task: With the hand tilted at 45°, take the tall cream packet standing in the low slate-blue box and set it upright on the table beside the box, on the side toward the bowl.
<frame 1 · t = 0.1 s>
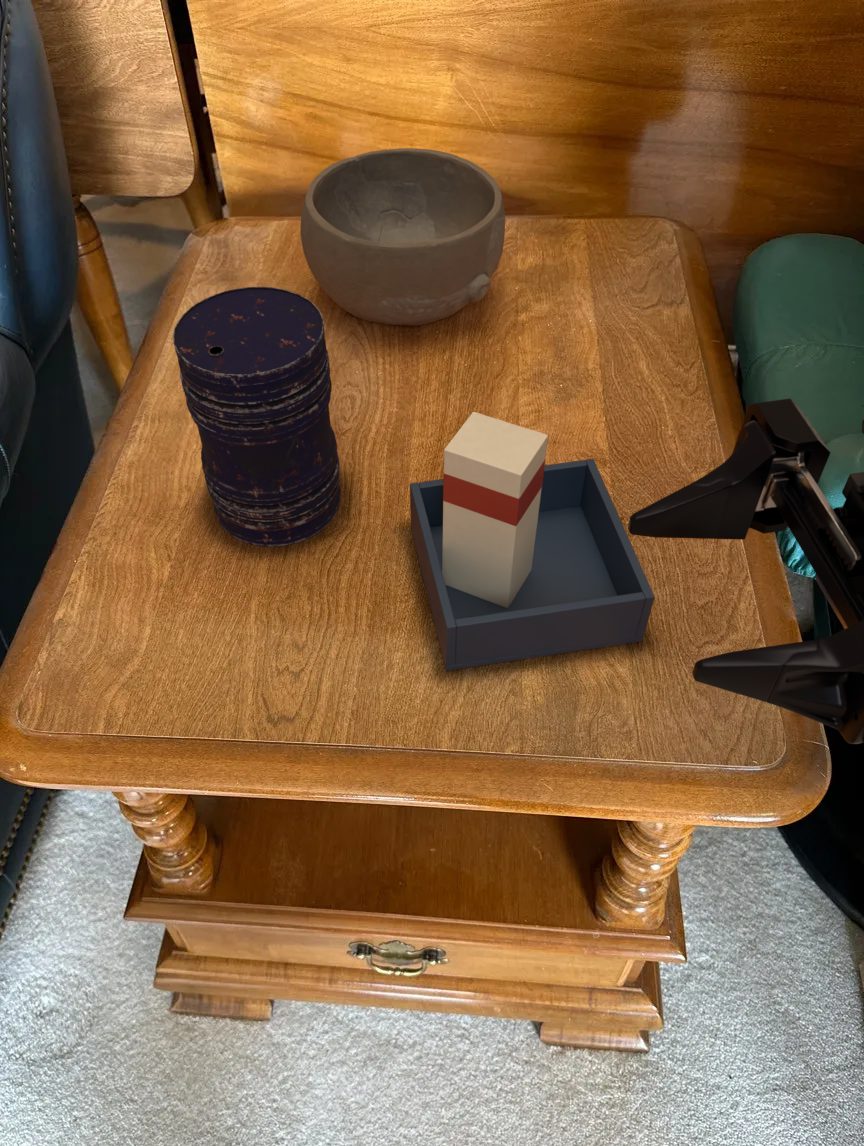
hand: (660, 593, 45), 16 cm above the table, tool horizontal, fingers open, 9 cm apart
packet: (486, 576, 66), resting on box
bowl: (403, 298, 89), on the table
dark blue cylinder: (278, 502, 73), on the table
box: (520, 582, 66), on the table
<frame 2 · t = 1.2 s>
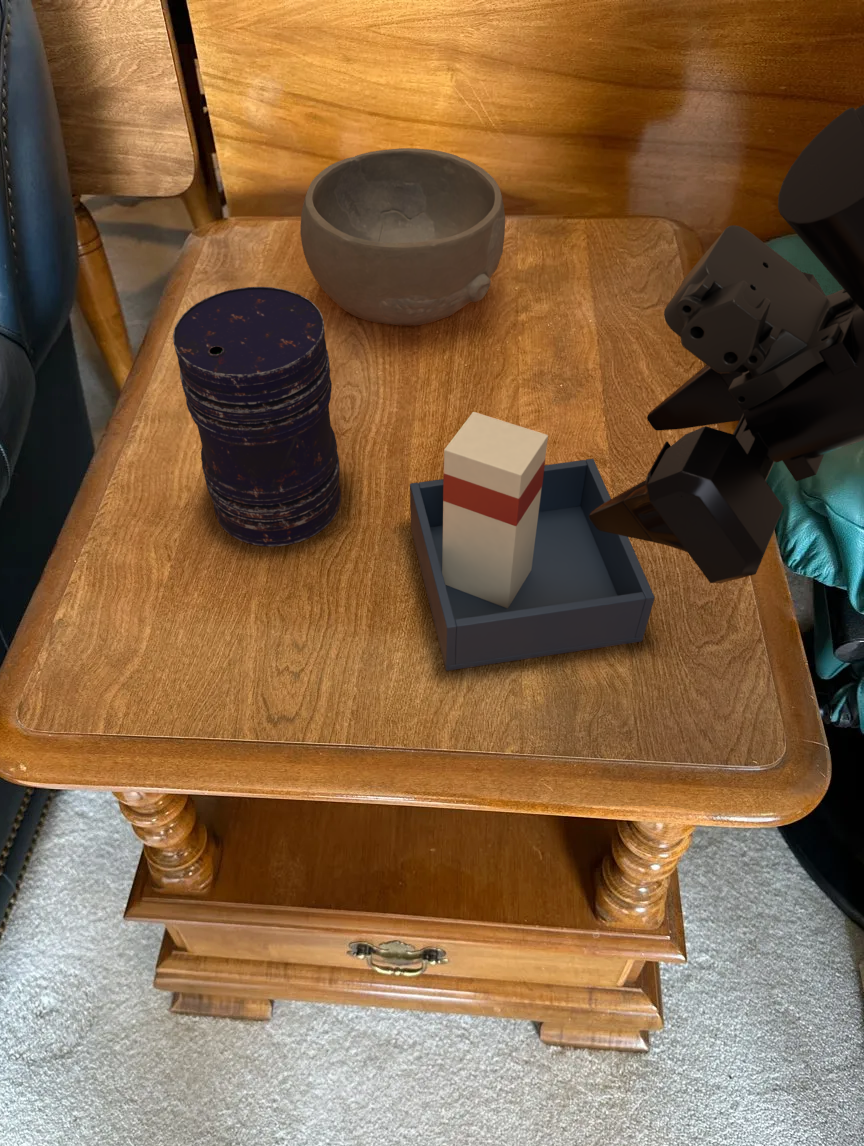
hand: (623, 469, 54), 13 cm above the table, tool tilted 45°, fingers open, 9 cm apart
nothing on the table moved.
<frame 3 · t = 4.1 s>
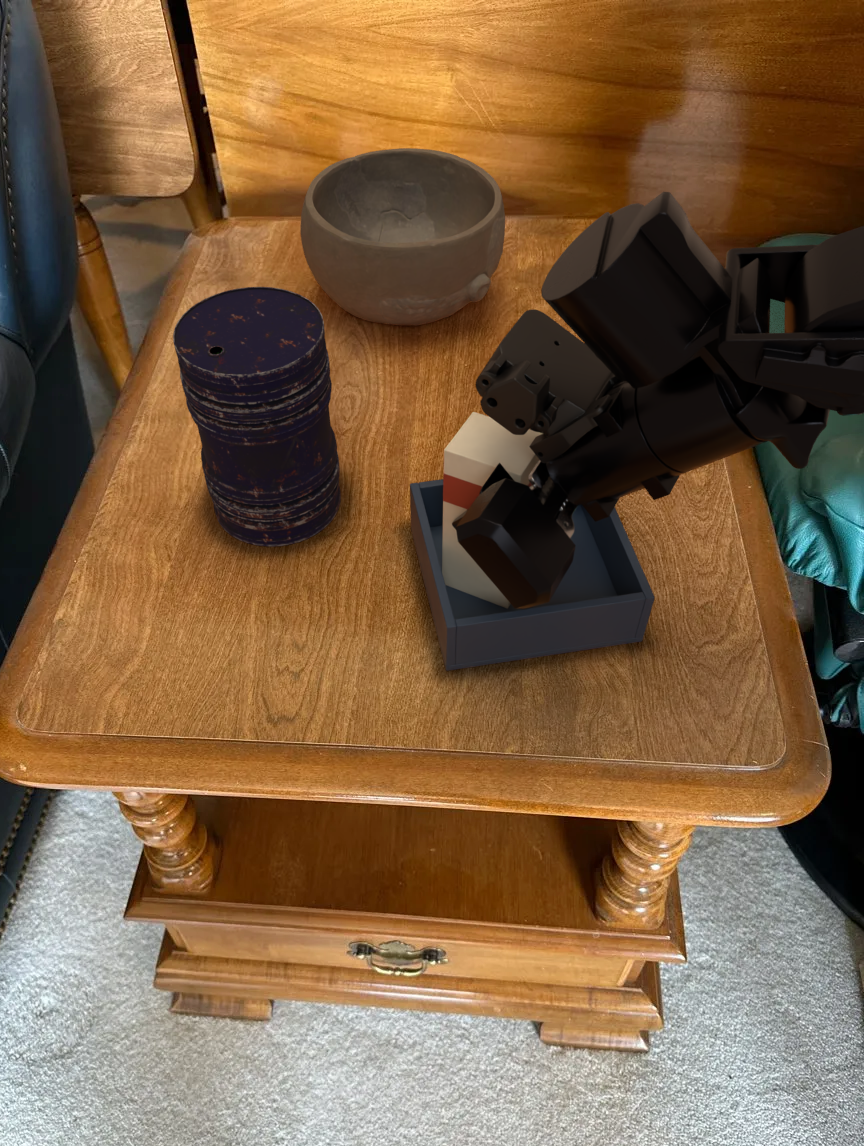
hand: (471, 506, 62), 7 cm above the table, tool tilted 45°, fingers closed on packet, 4 cm apart
packet: (486, 576, 66), point 1 cm above the table, touching box, gripper
everything else where it was.
when the fingers open (6 cm above the table, at t = 10.6 s): packet stays where it is, on the table.
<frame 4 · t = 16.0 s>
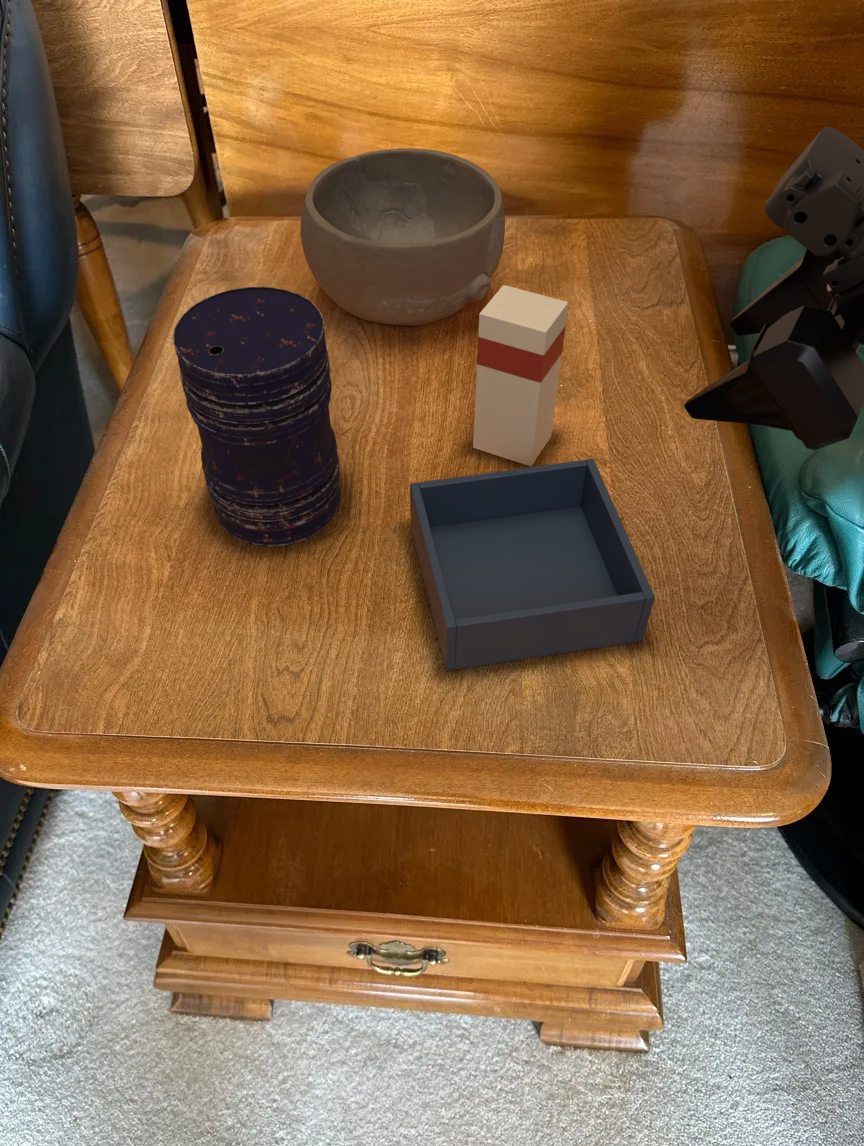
hand: (711, 367, 59), 14 cm above the table, tool tilted 45°, fingers open, 9 cm apart
packet: (512, 442, 76), on the table
everything else where it was.
at the end: packet inside the target area on the table beside the bowl (0.0 cm from its centre), on the table; packet tilted 0°; the gripper is holding nothing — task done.
